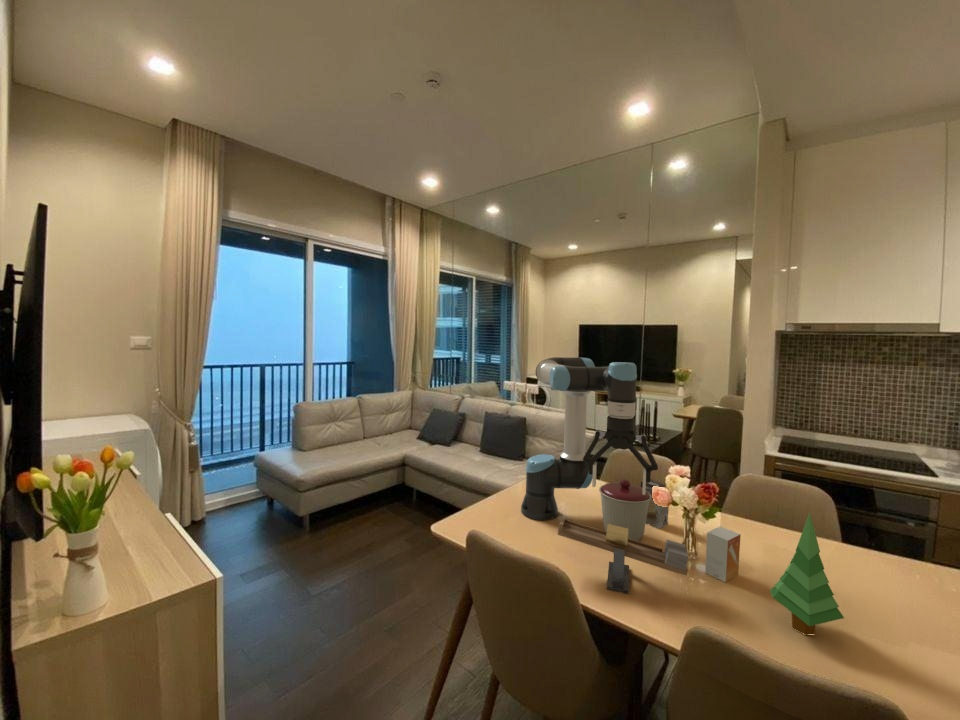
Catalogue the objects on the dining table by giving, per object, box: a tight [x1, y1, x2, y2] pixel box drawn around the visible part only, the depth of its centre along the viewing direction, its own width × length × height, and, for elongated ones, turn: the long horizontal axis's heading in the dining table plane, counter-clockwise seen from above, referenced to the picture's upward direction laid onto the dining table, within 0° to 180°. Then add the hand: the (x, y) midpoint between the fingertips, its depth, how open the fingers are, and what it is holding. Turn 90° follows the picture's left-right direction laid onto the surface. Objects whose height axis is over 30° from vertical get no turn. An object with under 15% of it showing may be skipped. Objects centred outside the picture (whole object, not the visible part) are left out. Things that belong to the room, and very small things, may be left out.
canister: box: [598, 478, 652, 542], centre depth 147 cm, size 18×18×21 cm
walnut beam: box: [557, 514, 689, 577], centre depth 120 cm, size 8×36×6 cm, turn 70°
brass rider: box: [606, 524, 628, 548], centre depth 120 cm, size 4×6×4 cm
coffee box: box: [640, 478, 670, 530], centre depth 158 cm, size 9×6×16 cm
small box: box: [704, 526, 742, 583], centre depth 124 cm, size 8×6×13 cm
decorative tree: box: [769, 512, 845, 635], centre depth 100 cm, size 14×16×30 cm
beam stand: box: [606, 547, 630, 595], centre depth 120 cm, size 14×6×12 cm, turn 160°
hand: (618, 489), depth 115 cm, fingers open, 13 cm apart
